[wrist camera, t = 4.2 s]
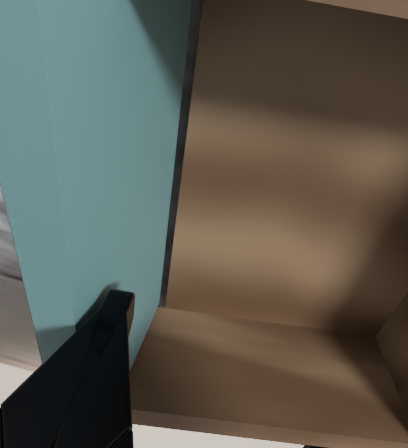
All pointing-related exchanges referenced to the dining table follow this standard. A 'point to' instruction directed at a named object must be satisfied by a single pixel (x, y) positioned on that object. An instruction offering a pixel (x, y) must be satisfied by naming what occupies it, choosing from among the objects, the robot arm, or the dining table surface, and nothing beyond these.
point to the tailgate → (90, 152)
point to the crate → (289, 232)
